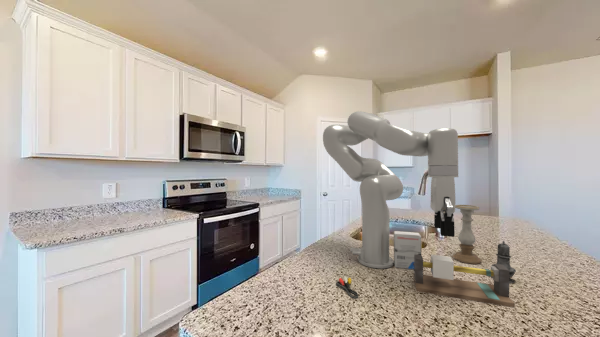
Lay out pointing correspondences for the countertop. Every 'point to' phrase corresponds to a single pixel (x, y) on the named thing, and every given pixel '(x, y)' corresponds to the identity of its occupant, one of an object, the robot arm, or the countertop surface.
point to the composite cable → (347, 286)
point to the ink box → (406, 248)
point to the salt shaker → (505, 259)
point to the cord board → (465, 284)
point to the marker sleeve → (442, 267)
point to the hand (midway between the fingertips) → (443, 231)
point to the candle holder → (466, 236)
